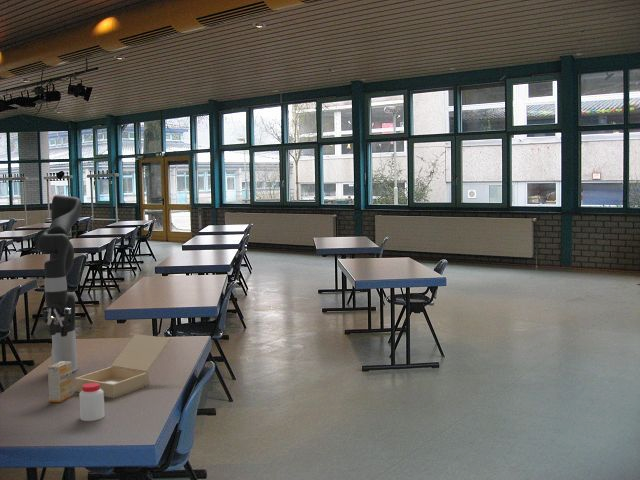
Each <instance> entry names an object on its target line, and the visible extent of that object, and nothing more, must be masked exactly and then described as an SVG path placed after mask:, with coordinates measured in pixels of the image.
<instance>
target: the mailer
mask: <svg viewBox="0 0 640 480" xmlns="http://www.w3.org/2000/svg"><path fill="white" fill-rule="evenodd" d="M149 376H150V375H149V371H148V372H145V371H138V370H132V369H126V368H119V367H113V366H109V367H106V368H103V369H100V370H99V369H98V370H96V371H94V372H93V371H92V372H90V373H86V374H84V375H80V376H76V377H75V378H74V383H75V384H74V386H75V391H76V392H79V393H80V392H81V391H82V390H83V388H82V386H83V385H84V384H87V383H99V384H100V388H101V389H102V390H103V391H104V397H105V396H106V398H110V397H111V398H110V399H115V397H116V398H118V397H120V395H121V396H123V394H124V395H125V394H128V393H131V391H132V392H134V391H137V390H140V389H142V388H145V387H148V386H149V385H150V380H149ZM147 385H148V386H147ZM144 386H145V387H144ZM139 388H140V389H139Z"/></svg>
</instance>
